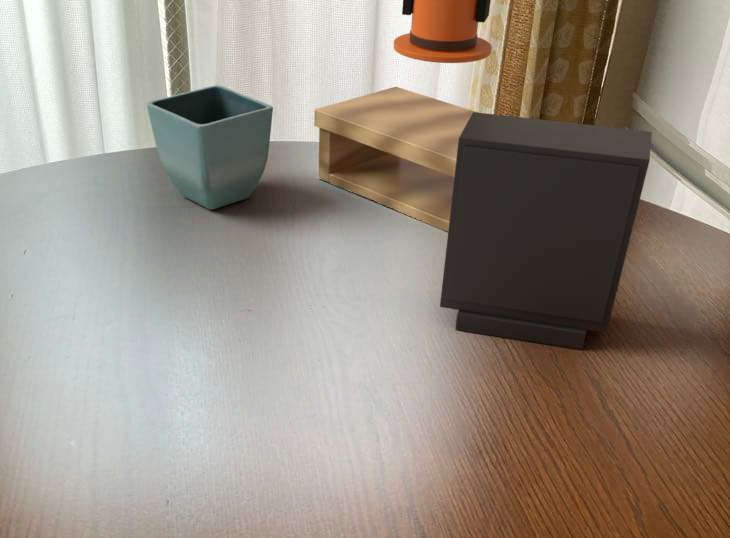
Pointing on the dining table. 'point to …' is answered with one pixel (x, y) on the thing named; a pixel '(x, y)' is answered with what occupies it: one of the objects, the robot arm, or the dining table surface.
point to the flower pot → (212, 143)
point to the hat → (443, 33)
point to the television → (540, 226)
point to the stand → (394, 150)
